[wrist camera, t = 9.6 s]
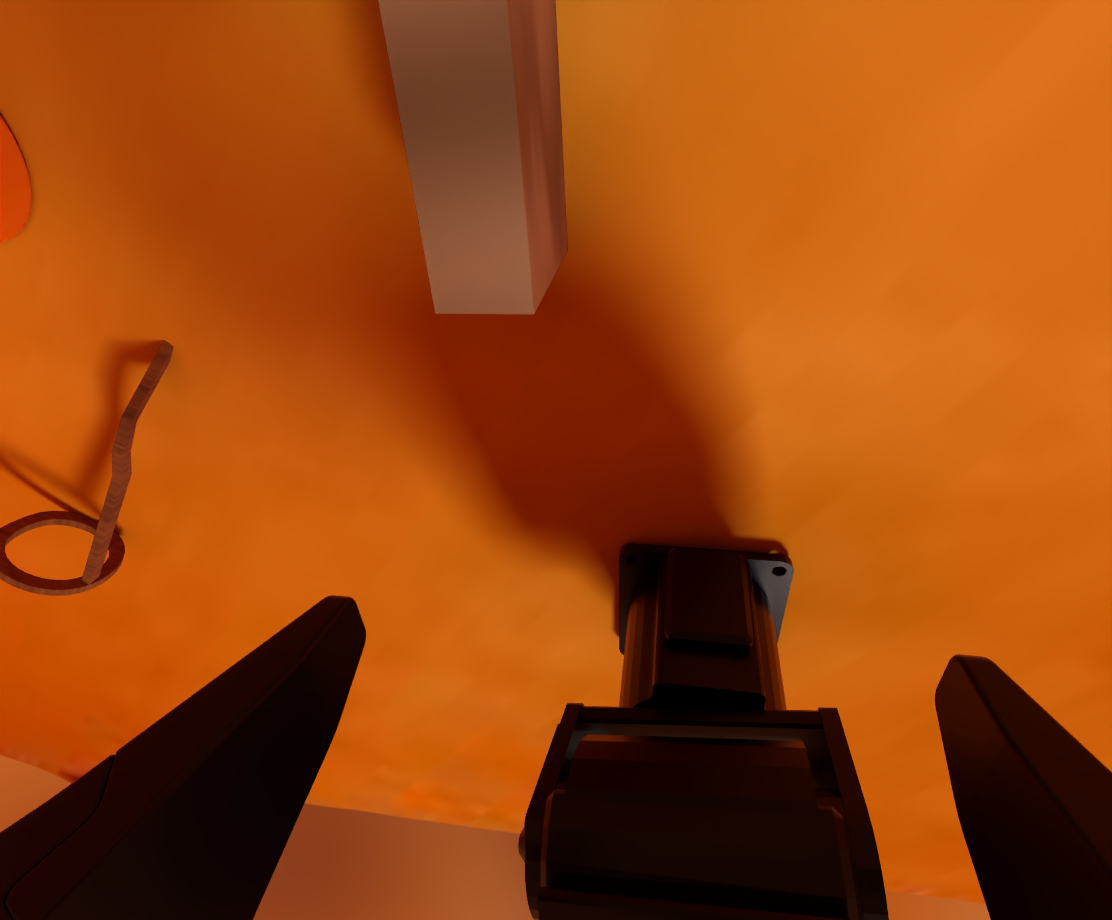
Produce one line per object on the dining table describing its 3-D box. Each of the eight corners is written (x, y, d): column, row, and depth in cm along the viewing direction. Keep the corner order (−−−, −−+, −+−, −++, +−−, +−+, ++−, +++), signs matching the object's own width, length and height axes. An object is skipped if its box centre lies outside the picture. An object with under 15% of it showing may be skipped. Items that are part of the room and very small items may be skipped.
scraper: (772, 247, 17) (799, 316, 13) (314, 253, 20) (218, 312, 15) (841, -245, 12) (922, -384, 8) (199, -152, 14) (8, -222, 10)
